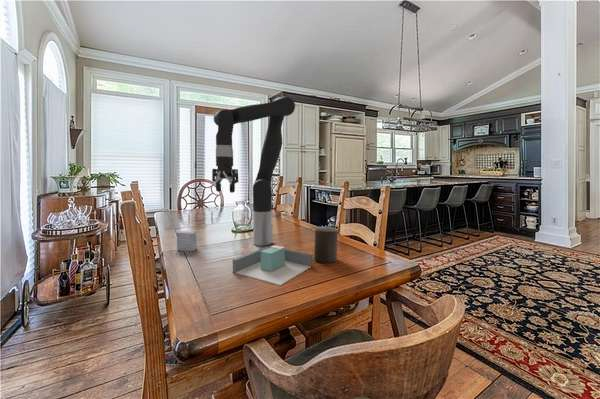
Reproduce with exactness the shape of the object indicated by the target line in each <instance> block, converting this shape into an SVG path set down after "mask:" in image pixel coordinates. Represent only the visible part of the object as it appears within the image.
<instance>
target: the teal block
mask: <svg viewBox="0 0 600 399" xmlns="http://www.w3.org/2000/svg"><path fill="white" fill-rule="evenodd" d="M270 246H271V245H270ZM285 249H286V247H285V246H282V245H276V244H274V245H272V246H271V247H270V248H268V249H265V250H263V251H261V269H263V270H267V271H273V270H275V269H277V268H279V267H281V266H283V265H285Z"/></svg>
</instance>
